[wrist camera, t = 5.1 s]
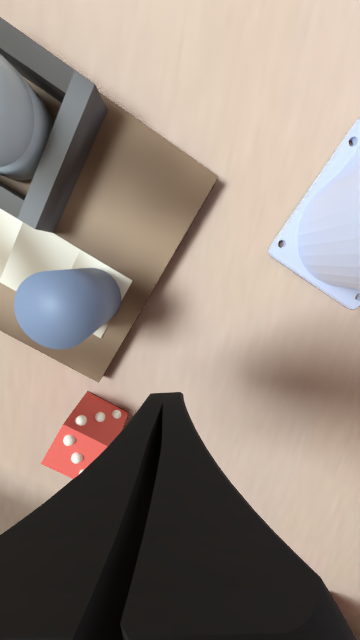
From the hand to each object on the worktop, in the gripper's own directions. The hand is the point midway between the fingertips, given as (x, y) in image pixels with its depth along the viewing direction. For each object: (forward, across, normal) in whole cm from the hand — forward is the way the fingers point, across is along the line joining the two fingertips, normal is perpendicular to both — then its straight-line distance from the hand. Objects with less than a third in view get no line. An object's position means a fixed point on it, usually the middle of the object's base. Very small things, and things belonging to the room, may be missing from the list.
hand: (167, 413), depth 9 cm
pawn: (+8, +6, -4) cm, 10 cm away
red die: (+9, +7, +7) cm, 14 cm away
